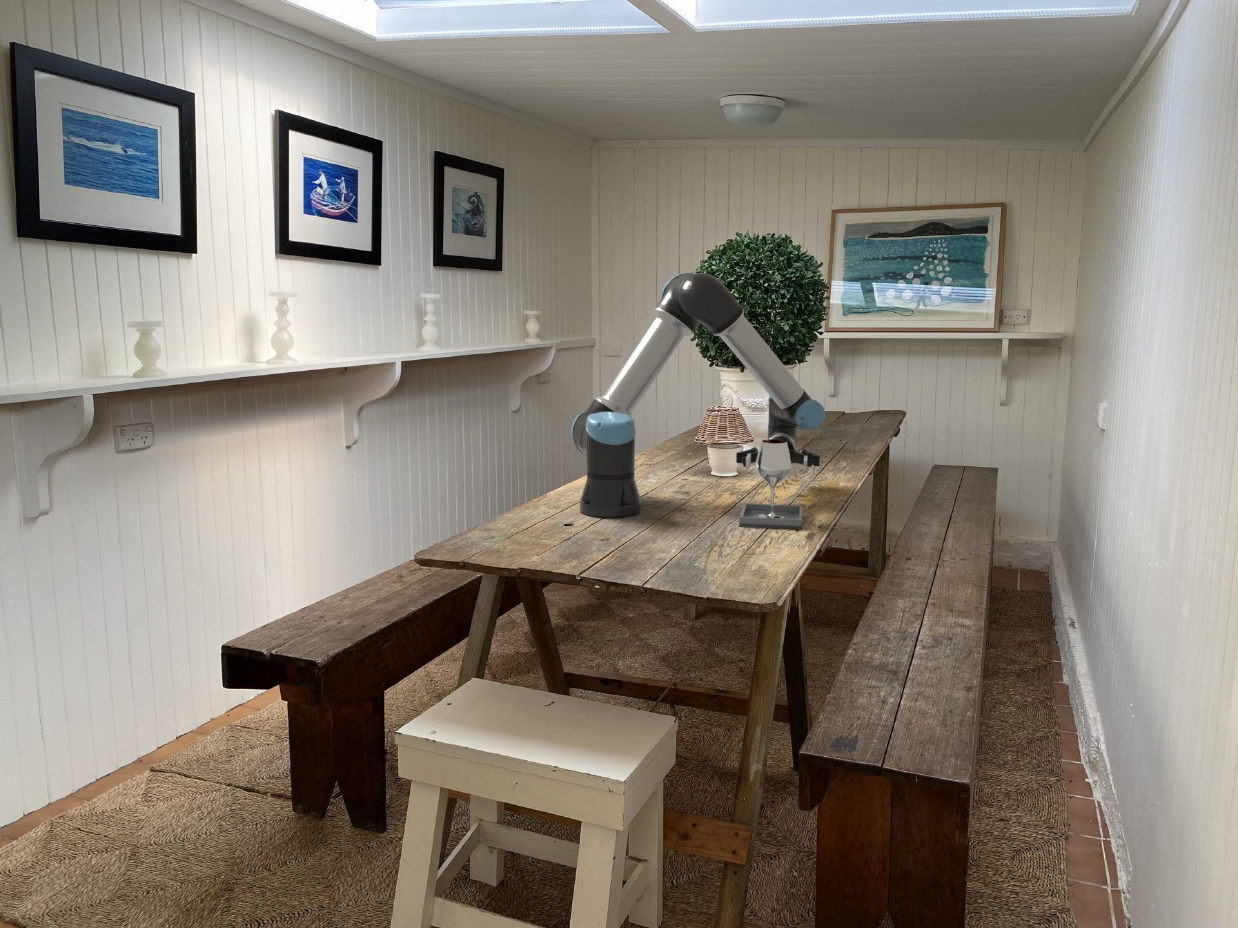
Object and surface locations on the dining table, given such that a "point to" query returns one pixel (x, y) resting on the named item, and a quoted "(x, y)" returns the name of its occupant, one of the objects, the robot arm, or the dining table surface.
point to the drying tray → (752, 520)
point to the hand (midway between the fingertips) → (776, 465)
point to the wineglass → (773, 467)
